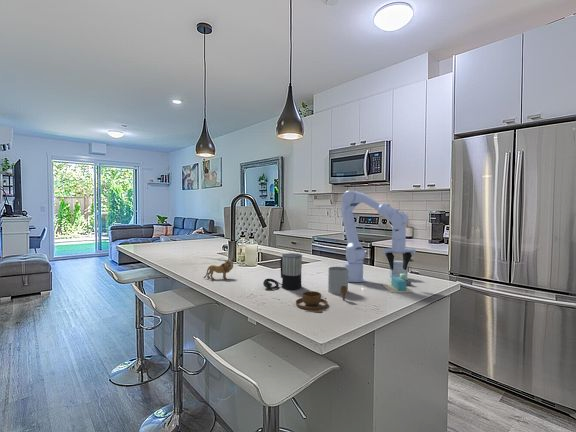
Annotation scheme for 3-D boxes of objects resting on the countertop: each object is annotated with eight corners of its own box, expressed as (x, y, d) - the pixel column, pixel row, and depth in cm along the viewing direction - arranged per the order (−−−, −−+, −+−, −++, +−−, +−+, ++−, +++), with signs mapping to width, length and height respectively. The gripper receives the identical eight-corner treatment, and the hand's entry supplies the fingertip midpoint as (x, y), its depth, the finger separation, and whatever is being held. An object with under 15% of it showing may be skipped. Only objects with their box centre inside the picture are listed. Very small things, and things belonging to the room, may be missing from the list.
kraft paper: (390, 292, 138) (390, 291, 138) (382, 285, 150) (382, 284, 150) (411, 292, 138) (411, 291, 138) (401, 285, 150) (401, 284, 150)
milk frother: (306, 287, 146) (306, 254, 145) (281, 294, 135) (281, 259, 134) (284, 281, 156) (284, 251, 155) (259, 288, 144) (259, 255, 144)
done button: (401, 281, 151) (401, 274, 151) (398, 279, 154) (398, 273, 154) (407, 281, 151) (408, 274, 151) (405, 279, 154) (405, 273, 154)
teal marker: (398, 290, 140) (398, 281, 140) (390, 284, 151) (390, 275, 151) (406, 290, 140) (406, 281, 140) (397, 284, 151) (397, 275, 151)
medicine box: (405, 277, 166) (405, 260, 166) (407, 279, 162) (407, 262, 162) (389, 277, 167) (389, 260, 167) (391, 279, 163) (391, 261, 162)
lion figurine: (233, 276, 167) (233, 259, 166) (233, 278, 161) (233, 260, 161) (203, 277, 163) (203, 260, 163) (203, 280, 158) (203, 262, 158)
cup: (349, 290, 142) (349, 267, 141) (346, 295, 134) (346, 271, 133) (330, 288, 144) (330, 266, 144) (326, 293, 137) (326, 269, 136)
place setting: (296, 298, 130) (296, 284, 130) (346, 300, 129) (347, 285, 129) (294, 313, 113) (294, 297, 113) (352, 315, 111) (352, 298, 111)
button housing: (399, 285, 150) (399, 281, 150) (395, 282, 155) (395, 278, 155) (410, 285, 150) (410, 281, 150) (406, 282, 155) (406, 278, 155)
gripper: (385, 240, 140) (384, 271, 141) (418, 240, 141) (418, 271, 141) (380, 238, 147) (380, 268, 148) (412, 238, 148) (411, 268, 148)
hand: (398, 269), depth 145 cm, fingers open, 5 cm apart
